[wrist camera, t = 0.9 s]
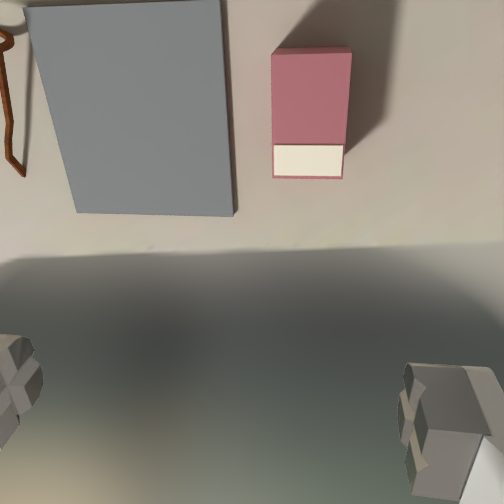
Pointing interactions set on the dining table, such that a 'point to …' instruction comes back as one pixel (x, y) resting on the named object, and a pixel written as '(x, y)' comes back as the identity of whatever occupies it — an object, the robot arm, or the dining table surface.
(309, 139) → the card box
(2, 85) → the glasses
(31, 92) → the dining table surface
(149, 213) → the gray mat
